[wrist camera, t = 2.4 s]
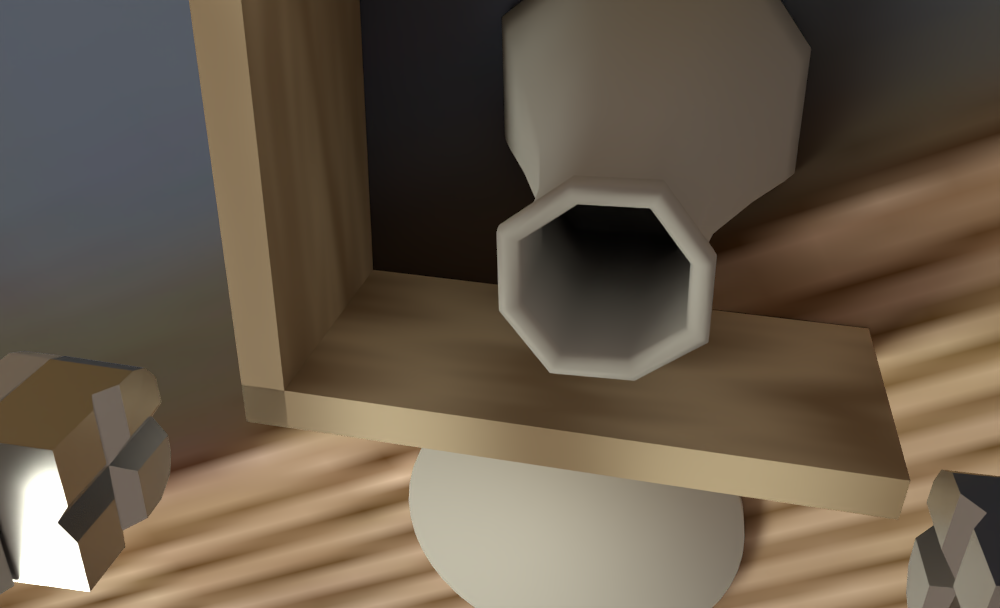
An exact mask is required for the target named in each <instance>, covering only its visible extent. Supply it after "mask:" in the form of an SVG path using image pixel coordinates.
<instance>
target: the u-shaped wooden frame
mask: <svg viewBox="0 0 1000 608" xmlns="http://www.w3.org/2000/svg"><path fill="white" fill-rule="evenodd" d="M189 4H190V11H191V18H192V26H193V33H194V40H195V48H196V55H197V62H198V70H199V77H200V84H201V91H202V99H203V106H204V113H205V121H206V128H207V135H208V143H209V150H210V157H211V164H212V172H213V179H214V186H215V194H216V201H217V208H218V216H219V223H220V230H221V237H222V245H223V252H224V259H225V267H226V274H227V281H228V288H229V296H230V303H231V310H232V318H233V325H234V332H235V340H236V347H237V354H238V361H239V369H240V376H241V383H242V391H243V398H244V405H245V413H246V420H247V421H248V422H255V423H261V424H268V425H274V426H281V427H288V428H294V429H301V430H308V431H314V432H321V433H327V434H334V435H341V436H347V437H354V438H360V439H367V440H374V441H380V442H387V443H393V444H400V445H407V446H413V447H420V448H427V449H433V450H440V451H446V452H453V453H460V454H466V455H473V456H479V457H486V458H493V459H499V460H506V461H513V462H519V463H526V464H532V465H539V466H546V467H552V468H559V469H565V470H572V471H579V472H585V473H592V474H598V475H605V476H612V477H618V478H625V479H632V480H638V481H645V482H651V483H658V484H665V485H671V486H678V487H684V488H691V489H698V490H704V491H711V492H717V493H724V494H731V495H737V496H744V497H751V498H757V499H764V500H770V501H777V502H784V503H790V504H797V505H803V506H810V507H817V508H823V509H830V510H837V511H843V512H850V513H856V514H863V515H870V516H876V517H883V518H889V519H896V520H898V519H899V516H900V513H901V510H902V506H903V503H904V500H905V497H906V493H907V490H908V487H909V483H910V478H909V474H908V471H907V467H906V463H905V460H904V456H903V452H902V449H901V445H900V441H899V438H898V434H897V430H896V427H895V423H894V419H893V416H892V412H891V408H890V405H889V401H888V397H887V394H886V390H885V387H884V383H883V379H882V376H881V372H880V368H879V365H878V361H877V357H876V354H875V350H874V346H873V343H872V339H871V335H870V332H869V329H868V328H860V327H851V326H843V325H834V324H826V323H818V322H809V321H801V320H792V319H784V318H775V317H767V316H758V315H750V314H742V313H733V312H725V311H716V310H712V313H711V323H710V334H709V342H708V343H707V344H705V345H703V346H701V347H699V348H697V349H695V350H693V351H691V352H689V353H687V354H685V355H683V356H681V357H680V358H678V359H676V360H674V361H672V362H670V363H668V364H666V365H664V366H662V367H660V368H658V369H656V370H654V371H652V372H651V373H649V374H647V375H645V376H643V377H641V378H639V379H637V380H635V381H631V380H620V379H609V378H598V377H587V376H576V375H565V374H554V373H549V371H548V370H547V369H546V368H545V366H544V365H543V364H542V363H541V362H540V360H539V359H538V358H537V357H536V355H535V354H534V353H533V352H532V351H531V349H530V348H529V347H528V346H527V344H526V343H525V342H524V341H523V339H522V338H521V337H520V336H519V335H518V333H517V332H516V331H515V330H514V328H513V327H512V326H511V325H510V324H509V322H508V321H507V320H506V319H505V317H504V316H503V315H502V314H501V313H500V311H499V297H498V285H497V284H488V283H480V282H471V281H463V280H454V279H446V278H437V277H429V276H421V275H412V274H404V273H395V272H387V271H378V270H373V258H372V238H371V218H370V198H369V178H368V158H367V138H366V118H365V98H364V78H363V59H362V39H361V19H360V0H189Z"/></svg>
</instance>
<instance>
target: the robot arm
mask: <svg viewBox="0 0 1000 608" xmlns="http://www.w3.org/2000/svg"><path fill="white" fill-rule="evenodd" d="M160 403H161V398H160V394H159V389H158V385H157V381H156V377H155V376H154V375H153V374H152V373H150V372H149V371H148V370H146V369H145V368H141V367H134V366H128V365H121V364H114V363H107V362H101V361H94V360H87V359H81V358H74V357H67V356H63V357H61V356H58V355H52V354H44V353H36V352H29V351H21V352H14V353H9V354H8V355H6V356H5V357H4V358H2V359H1V360H0V594H1V593H3V592H5V591H6V590H8V589H10V588H11V587H13V586H14V582H13V581H15V582H22V583H29V584H37V585H44V586H51V587H59V588H66V589H73V590H80V591H88V592H90V591H91V590H92V589H93V587H94V586H95V585H96V584H97V582H98V581H99V580H100V578H101V577H102V576H103V575H104V573H105V572H106V571H107V569H108V568H109V567H110V566H111V564H112V563H113V562H114V560H115V559H116V558H117V557H118V555H119V554H120V553H121V552H122V550H123V549H124V548H125V541H124V534H123V530H125V529H127V528H129V527H130V526H132V525H134V524H136V523H138V522H140V521H142V520H144V519H146V518H148V516H149V515H150V514H151V512H152V511H153V510H154V508H155V507H156V506H157V504H158V503H159V501H160V500H161V498H162V495H163V492H164V490H165V487H166V484H167V481H168V478H169V475H170V462H171V451H170V445H169V440H168V435H167V434H166V433H165V431H164V430H163V429H162V428H161V427H160V426H159V425H158V423H157V422H156V421H155V420H154V419H153V418H152V415H153V414H154V412H155V411H156V409H157V408H158V406H159V405H160ZM927 505H928V508H929V512H930V515H931V518H932V521H933V524H934V526H932V527H931V528H929V529H928V530H927V531H925V532H924V533H922V534H921V535H919V536H918V537H916V539H915V542H914V546H913V550H912V554H911V557H910V561H909V565H908V578H907V591H906V594H907V604H908V608H1000V476H993V475H984V474H975V473H967V472H958V471H950V470H941V471H940V473H939V474H938V476H937V477H936V479H935V480H934V482H933V485H932V488H931V491H930V494H929V497H928V500H927Z"/></svg>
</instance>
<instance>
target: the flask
mask: <svg viewBox="0 0 1000 608" xmlns="http://www.w3.org/2000/svg"><path fill="white" fill-rule="evenodd" d="M502 48H503V88H504V128H505V139H506V141H507V144H508V146H509V148H510V149H511V151H512V153H513V155H514V156H515V158H516V160H517V161H518V163H519V165H520V166H521V168H522V170H523V172H524V174H525V176H526V178H527V180H528V183H529V185H530V187H531V190H532V192H533V194H534V197H535V200H534V202H533V203H531V204H530V205H528V206H527V207H525V208H524V209H522V210H521V211H519V212H518V213H516V214H515V215H513V216H512V217H510V218H509V219H507V220H506V221H504V222H503V223H501V224H500V225H499V226H498V229H497V232H496V233H497V265H498V297H499V311H500V313H501V314H502V315H503V316H504V317H505V319H506V320H507V321H508V322H509V324H510V325H511V326H512V327H513V328H514V330H515V331H516V332H517V333H518V335H519V336H520V337H521V338H522V339H523V341H524V342H525V343H526V344H527V346H528V347H529V348H530V349H531V351H532V352H533V353H534V354H535V355H536V357H537V358H538V359H539V360H540V362H541V363H542V364H543V365H544V366H545V368H546V369H547V370H548V371H549V373H554V374H565V375H576V376H587V377H598V378H609V379H620V380H631V381H635V380H637V379H639V378H641V377H643V376H645V375H647V374H649V373H651V372H652V371H654V370H656V369H658V368H660V367H662V366H664V365H666V364H668V363H670V362H672V361H674V360H676V359H678V358H680V357H681V356H683V355H685V354H687V353H689V352H691V351H693V350H695V349H697V348H699V347H701V346H703V345H705V344H707V343H708V342H709V334H710V323H711V313H712V302H713V292H714V281H715V271H716V260H717V254H716V253H715V251H714V249H713V248H712V246H711V245H710V244H709V241H710V239H711V237H712V235H713V233H715V232H716V231H717V230H718V229H720V228H721V227H722V226H723V225H725V224H726V223H727V222H728V221H730V220H731V219H732V218H733V217H734V216H736V215H737V214H738V213H739V212H741V211H742V210H743V209H744V208H746V207H747V206H748V205H749V204H751V203H752V202H753V201H755V200H756V199H758V198H759V197H761V196H762V195H764V194H765V193H767V192H769V191H770V190H772V189H773V188H775V187H776V186H778V185H779V184H781V183H782V182H784V181H785V180H787V179H788V178H789V177H790V176H792V175H793V174H794V173H795V167H796V160H797V152H798V145H799V137H800V130H801V122H802V114H803V107H804V99H805V92H806V84H807V77H808V69H809V62H810V54H811V48H810V46H809V44H808V43H807V41H806V40H805V38H804V37H803V35H802V33H801V32H800V30H799V29H798V27H797V25H796V24H795V22H794V21H793V19H792V18H791V16H790V14H789V13H788V11H787V10H786V8H785V6H784V5H783V3H782V2H781V0H523V1H521V2H520V3H519V4H517V5H516V6H515V7H514V8H512V9H511V10H510V11H509V12H507V13H506V14H505V15H503V16H502Z"/></svg>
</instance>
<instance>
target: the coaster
mask: <svg viewBox="0 0 1000 608" xmlns="http://www.w3.org/2000/svg"><path fill="white" fill-rule="evenodd" d="M409 506H410V515H411V520H412V523H413V527H414V531H415V534H416V536H417V538H418V541H419V543H420V545H421V548H422V550H423V551H424V553H425V555H426V556H427V558H428V560H429V561H430V563H431V565H432V566H433V567H434V568H435V570H436V571H437V572H438V574H439V575H440V576H441V577H442V579H443V580H444V581H445V582H446V583H447V584H448V585H449V586H450V587H451V588H452V589H453V590H454V591H455V592H456V593H457V594H458V595H460V596H461V597H462V598H463V599H465V600H466V601H467V602H468V603H469V604H471V605H472V606H474V607H475V608H712V607H713V606H714V605H715V604H716V603H717V602H718V601H719V600H720V599H721V598H722V596H723V595H724V594H725V592H726V591H727V590H728V588H729V587H730V585H731V583H732V581H733V579H734V577H735V575H736V573H737V571H738V568H739V565H740V562H741V558H742V555H743V547H744V538H745V535H744V513H743V503H742V499H741V496H737V495H731V494H724V493H717V492H711V491H704V490H698V489H691V488H684V487H678V486H671V485H665V484H658V483H651V482H645V481H638V480H632V479H625V478H618V477H612V476H605V475H598V474H592V473H585V472H579V471H572V470H565V469H559V468H552V467H546V466H539V465H532V464H526V463H519V462H513V461H506V460H499V459H493V458H486V457H479V456H473V455H466V454H460V453H453V452H446V451H440V450H433V449H427V448H421V451H420V453H419V455H418V458H417V460H416V462H415V465H414V467H413V471H412V476H411V480H410V488H409Z"/></svg>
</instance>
